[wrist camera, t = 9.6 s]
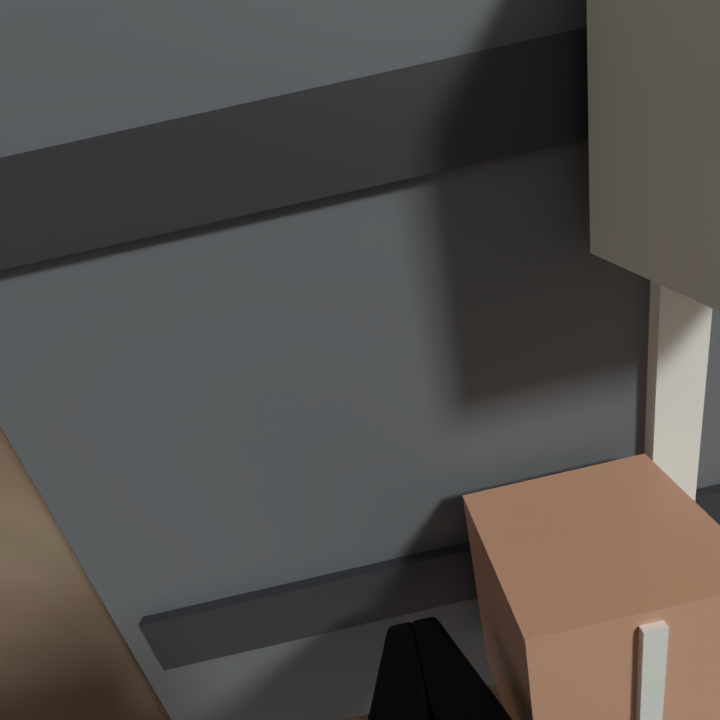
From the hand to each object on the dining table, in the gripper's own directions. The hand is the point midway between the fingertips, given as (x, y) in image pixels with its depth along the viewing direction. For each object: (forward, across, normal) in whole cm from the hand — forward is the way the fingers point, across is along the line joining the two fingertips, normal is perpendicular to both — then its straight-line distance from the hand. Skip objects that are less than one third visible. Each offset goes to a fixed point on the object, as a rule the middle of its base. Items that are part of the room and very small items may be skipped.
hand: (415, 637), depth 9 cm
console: (+3, -2, -4) cm, 5 cm away
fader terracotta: (+1, -3, 0) cm, 3 cm away
